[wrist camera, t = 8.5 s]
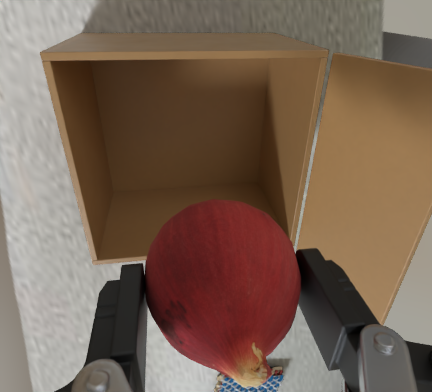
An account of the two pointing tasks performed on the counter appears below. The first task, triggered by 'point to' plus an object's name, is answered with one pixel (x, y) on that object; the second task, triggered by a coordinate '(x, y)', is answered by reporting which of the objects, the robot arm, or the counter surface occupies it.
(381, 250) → the flap
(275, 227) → the onion
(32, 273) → the counter surface
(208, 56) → the carton
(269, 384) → the woven mat
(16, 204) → the counter surface
